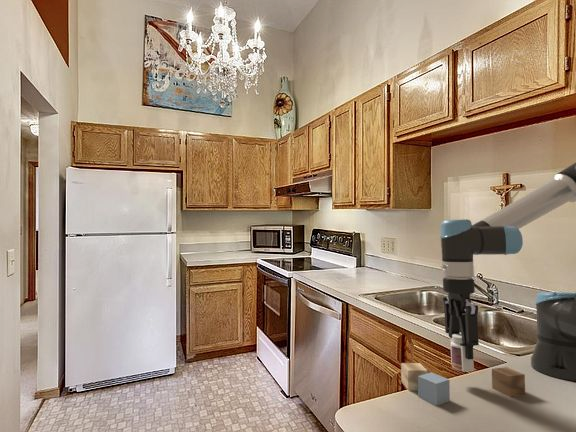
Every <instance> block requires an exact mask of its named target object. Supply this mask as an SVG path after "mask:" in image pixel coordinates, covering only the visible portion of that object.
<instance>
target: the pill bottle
mask: <svg viewBox="0 0 576 432" xmlns="http://www.w3.org/2000/svg"><path fill="white" fill-rule="evenodd" d="M452 341H453V342H451V345H450V358H451V359H452V363H451V367H452V369H453V370H456V371H460V372H463V371H462V360H461V345H460V343H463V342H462V336H461V333H460V334H453V335H452ZM451 359H450V360H451Z"/></svg>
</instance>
